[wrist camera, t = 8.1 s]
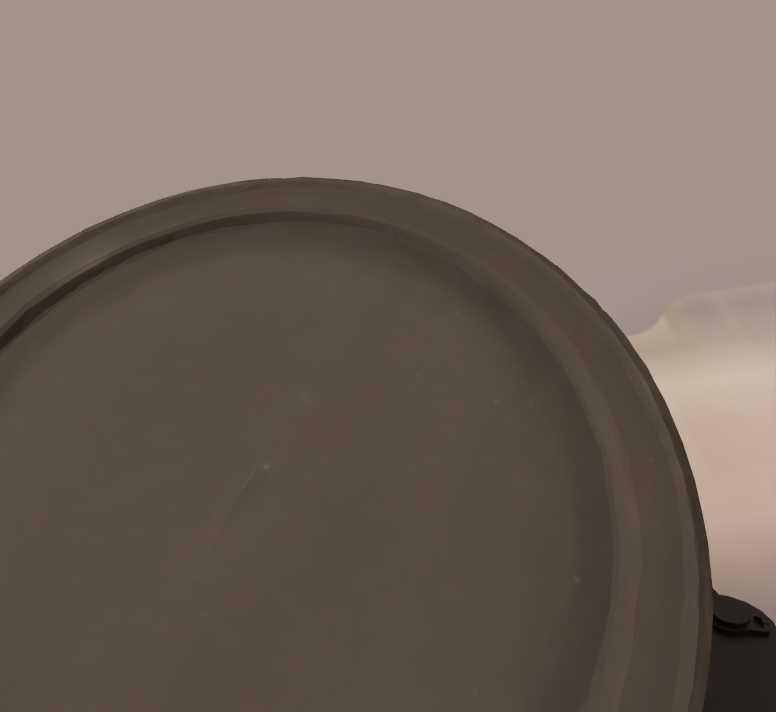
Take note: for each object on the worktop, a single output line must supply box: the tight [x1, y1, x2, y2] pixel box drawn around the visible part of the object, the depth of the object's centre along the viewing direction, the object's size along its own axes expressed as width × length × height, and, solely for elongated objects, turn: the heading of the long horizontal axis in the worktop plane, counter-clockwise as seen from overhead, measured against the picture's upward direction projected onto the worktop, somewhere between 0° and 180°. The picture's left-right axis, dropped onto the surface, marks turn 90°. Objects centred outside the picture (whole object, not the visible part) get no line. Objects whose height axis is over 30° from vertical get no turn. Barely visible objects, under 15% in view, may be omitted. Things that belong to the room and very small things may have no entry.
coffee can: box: [0, 177, 714, 712], centre depth 13 cm, size 10×10×14 cm
